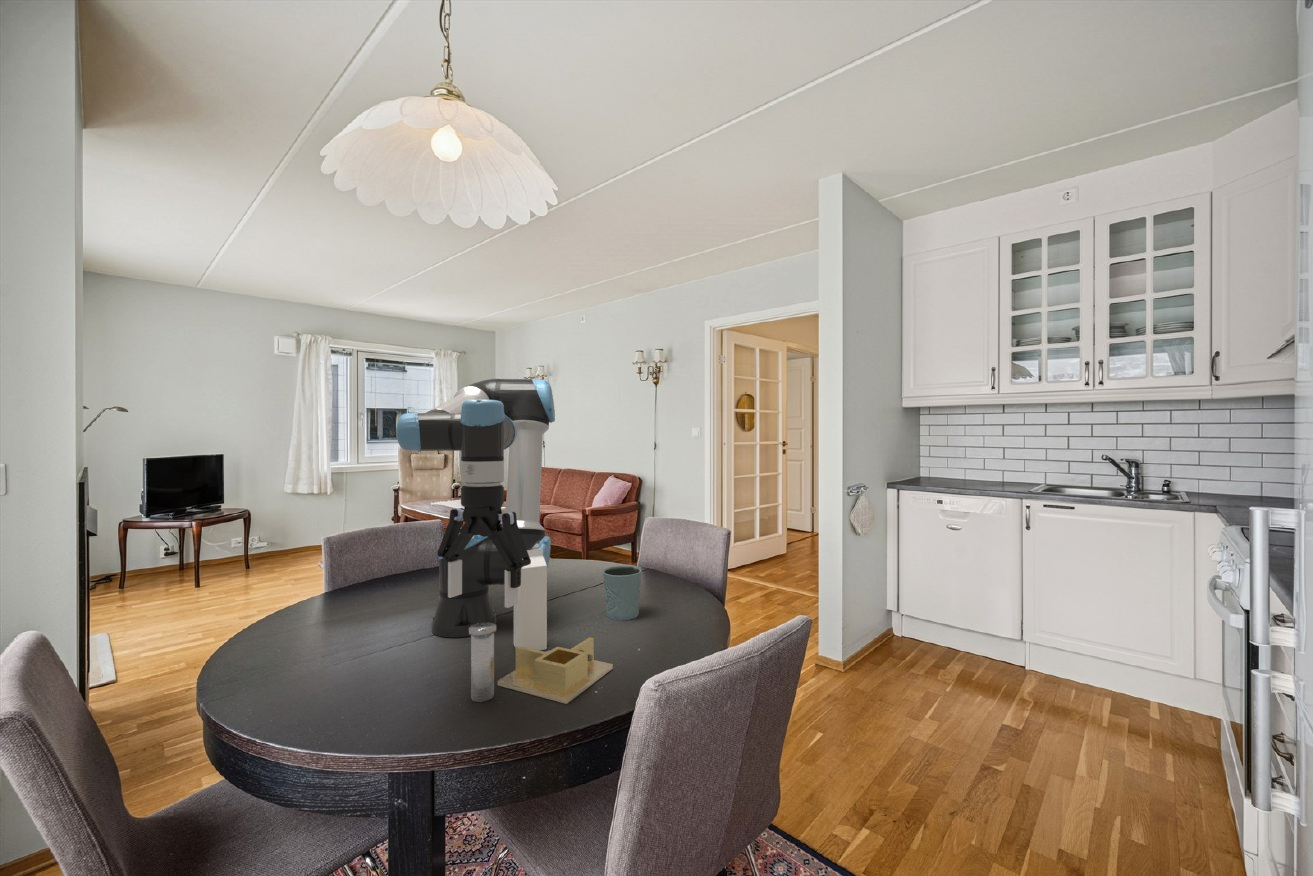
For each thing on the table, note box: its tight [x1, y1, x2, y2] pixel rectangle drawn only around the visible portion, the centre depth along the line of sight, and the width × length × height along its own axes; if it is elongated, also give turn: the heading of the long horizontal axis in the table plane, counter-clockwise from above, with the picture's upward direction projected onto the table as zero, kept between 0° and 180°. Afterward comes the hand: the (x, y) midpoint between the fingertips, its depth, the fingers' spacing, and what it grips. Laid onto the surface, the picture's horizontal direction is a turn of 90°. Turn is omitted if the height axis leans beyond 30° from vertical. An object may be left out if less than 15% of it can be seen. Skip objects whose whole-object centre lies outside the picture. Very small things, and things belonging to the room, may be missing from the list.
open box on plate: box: [497, 637, 613, 705], centre depth 107 cm, size 16×16×6 cm
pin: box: [469, 622, 497, 703], centre depth 99 cm, size 5×5×13 cm
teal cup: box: [602, 565, 642, 621], centre depth 143 cm, size 10×10×12 cm
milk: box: [513, 549, 548, 651], centre depth 121 cm, size 6×6×22 cm
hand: (482, 600), depth 98 cm, fingers open, 13 cm apart
